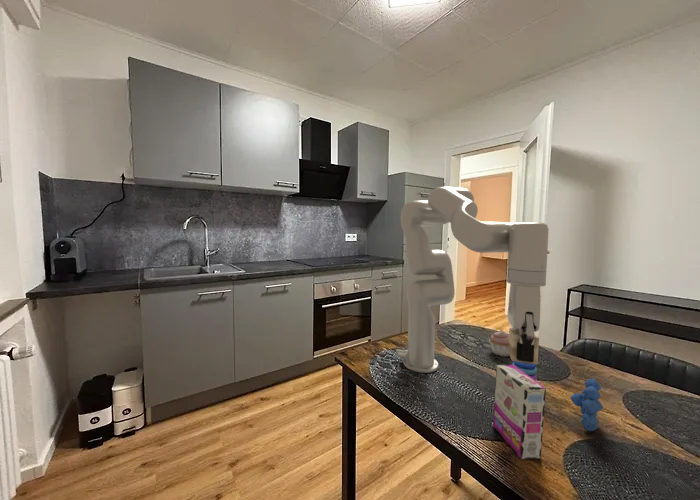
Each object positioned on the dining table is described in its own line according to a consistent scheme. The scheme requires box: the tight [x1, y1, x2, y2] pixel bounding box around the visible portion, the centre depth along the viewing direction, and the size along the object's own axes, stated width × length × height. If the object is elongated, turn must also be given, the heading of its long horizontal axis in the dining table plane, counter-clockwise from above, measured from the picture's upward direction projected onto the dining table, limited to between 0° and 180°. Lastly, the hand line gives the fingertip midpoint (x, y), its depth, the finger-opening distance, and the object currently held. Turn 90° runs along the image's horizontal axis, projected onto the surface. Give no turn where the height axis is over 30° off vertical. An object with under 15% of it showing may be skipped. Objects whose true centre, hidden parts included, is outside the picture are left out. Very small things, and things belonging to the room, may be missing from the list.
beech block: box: [508, 327, 540, 365], centre depth 66 cm, size 5×5×6 cm
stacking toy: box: [511, 361, 538, 382], centre depth 94 cm, size 8×8×19 cm
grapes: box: [569, 378, 604, 432], centre depth 75 cm, size 12×7×12 cm, turn 139°
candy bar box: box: [492, 364, 547, 460], centre depth 68 cm, size 11×5×16 cm, turn 5°
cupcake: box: [488, 329, 510, 358], centre depth 117 cm, size 9×9×10 cm
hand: (522, 354), depth 66 cm, fingers closed on beech block, 4 cm apart
